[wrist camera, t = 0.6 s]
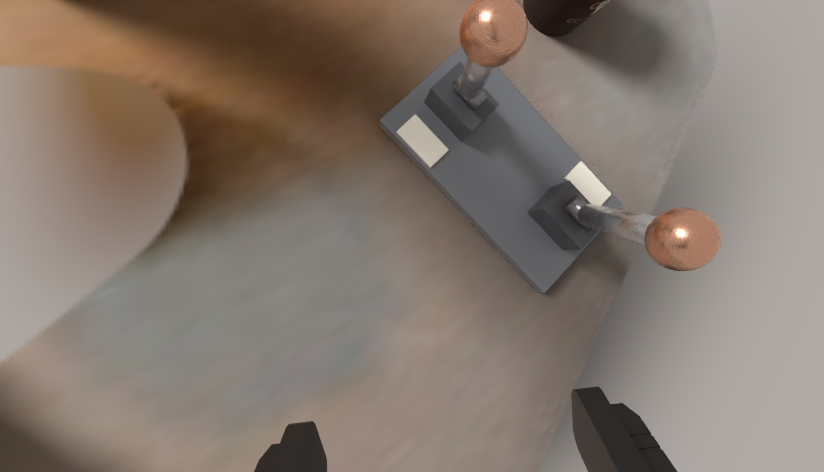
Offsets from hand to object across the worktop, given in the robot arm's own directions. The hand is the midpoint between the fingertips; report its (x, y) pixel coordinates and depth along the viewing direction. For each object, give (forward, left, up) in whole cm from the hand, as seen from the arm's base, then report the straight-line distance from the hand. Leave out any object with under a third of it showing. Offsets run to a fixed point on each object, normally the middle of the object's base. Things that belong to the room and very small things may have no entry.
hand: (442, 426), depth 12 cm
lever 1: (-13, +15, -18) cm, 27 cm away
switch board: (-6, +17, -24) cm, 30 cm away
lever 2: (0, +19, -18) cm, 26 cm away
